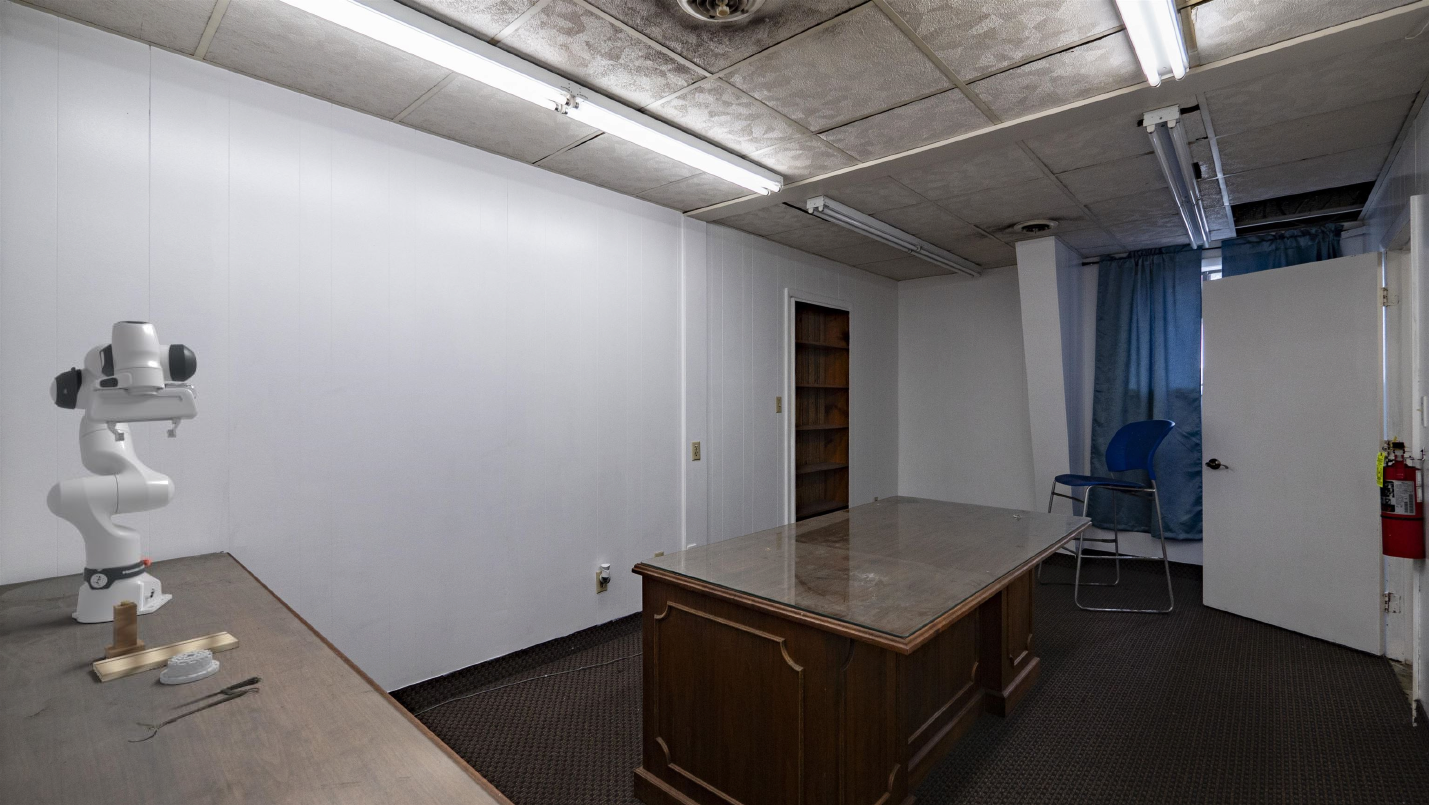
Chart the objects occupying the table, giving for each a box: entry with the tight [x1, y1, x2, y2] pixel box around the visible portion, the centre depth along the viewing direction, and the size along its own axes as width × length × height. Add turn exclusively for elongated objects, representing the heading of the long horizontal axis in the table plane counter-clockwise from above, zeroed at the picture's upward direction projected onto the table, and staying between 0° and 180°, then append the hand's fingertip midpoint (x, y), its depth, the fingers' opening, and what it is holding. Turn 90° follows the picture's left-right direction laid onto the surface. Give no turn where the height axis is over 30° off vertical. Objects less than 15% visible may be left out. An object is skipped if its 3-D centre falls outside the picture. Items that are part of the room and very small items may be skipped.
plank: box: [92, 631, 240, 683], centre depth 146 cm, size 24×10×2 cm, turn 143°
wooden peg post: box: [104, 601, 146, 660], centre depth 147 cm, size 6×6×13 cm
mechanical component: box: [159, 650, 220, 685], centre depth 137 cm, size 10×4×10 cm
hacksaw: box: [127, 676, 262, 743], centre depth 122 cm, size 24×10×2 cm, turn 151°
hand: (146, 439), depth 151 cm, fingers open, 8 cm apart
